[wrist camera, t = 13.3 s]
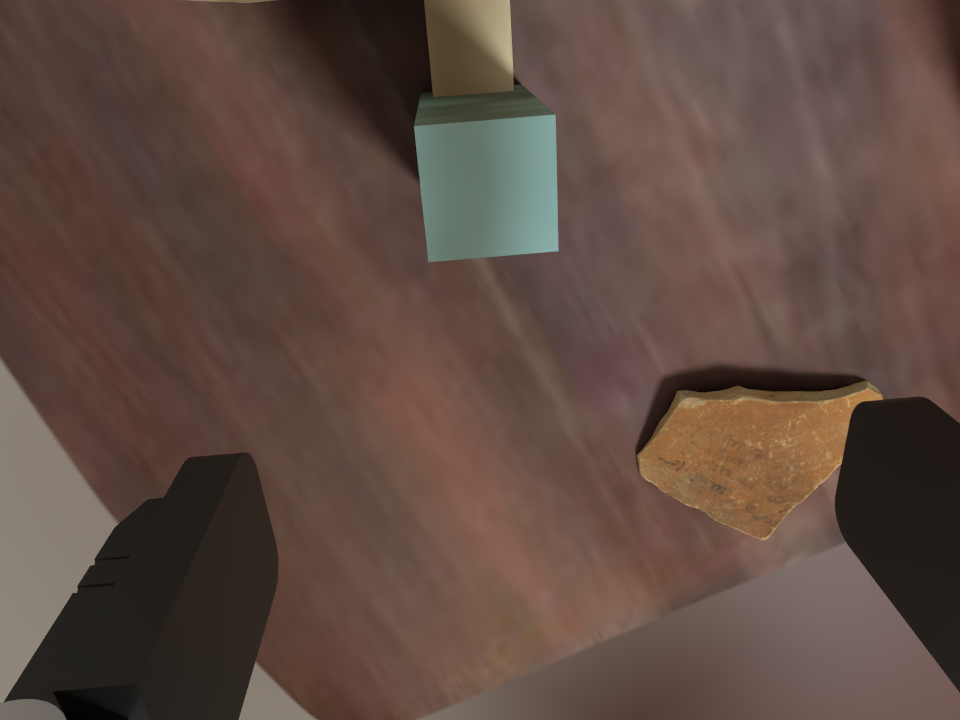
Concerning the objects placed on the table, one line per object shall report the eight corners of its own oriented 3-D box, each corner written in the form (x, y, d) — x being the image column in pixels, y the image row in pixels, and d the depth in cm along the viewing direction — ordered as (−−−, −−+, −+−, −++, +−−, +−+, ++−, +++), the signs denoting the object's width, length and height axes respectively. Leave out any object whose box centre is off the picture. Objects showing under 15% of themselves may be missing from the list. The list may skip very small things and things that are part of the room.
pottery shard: (884, 384, 36) (915, 410, 33) (789, 524, 39) (811, 555, 37) (703, 323, 34) (723, 346, 31) (620, 477, 37) (632, 507, 35)
